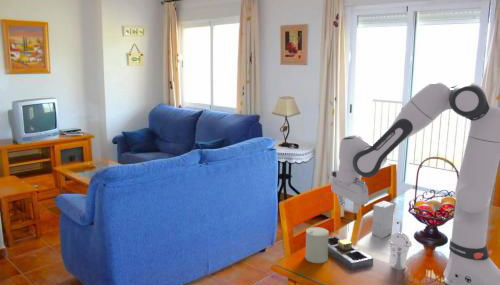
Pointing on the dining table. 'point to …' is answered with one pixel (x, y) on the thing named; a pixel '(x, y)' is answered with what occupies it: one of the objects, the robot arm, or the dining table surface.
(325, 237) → the can
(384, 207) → the skincare box
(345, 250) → the pale yellow upright block
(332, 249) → the grey compartment tray
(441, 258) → the dining table surface
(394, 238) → the cup with straw
